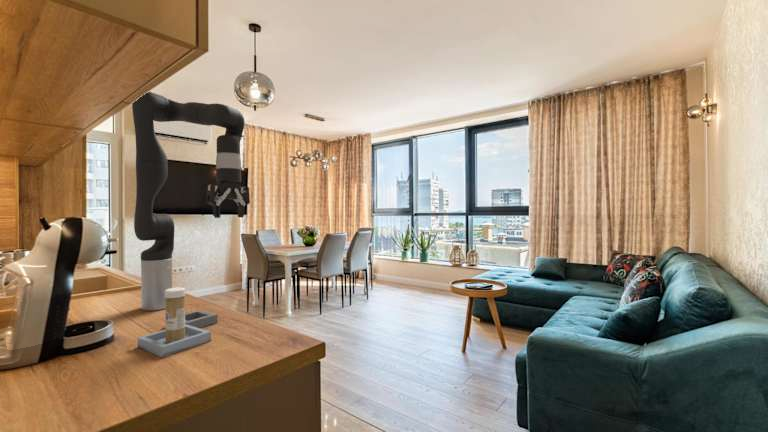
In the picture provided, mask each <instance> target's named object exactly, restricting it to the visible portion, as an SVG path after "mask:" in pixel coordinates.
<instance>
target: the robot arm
mask: <svg viewBox="0 0 768 432" xmlns="http://www.w3.org/2000/svg"><path fill="white" fill-rule="evenodd" d="M131 106H132V117H133V126H134V133H135V134H134V136H135V175H136V177H135V178H136V196H135V210H134V219H133V220H134V221H133V229H134V234H135V236H136V238H137V239H138V240H140V241H154V243H153V244H152V245H151V246H150V247H148V248H147V249H145V250H142V251H141V252H140V279H141V282H140V285H141V286H140V287H141V289H140V290H141V295H140V296H141V310H142V311H160V310H164V309H165V310H166V299H165V290H167V289H170V288H173V258H172V257H173V252H174V249H175V221H174V219H173V217H172V216H171V215H170V214H168V213H154V212H153V211H154V210H153V209H154V204H155V199H156V197H157V195H158V194H159V192H160V190H161V189H162V188H163V186H164V185H165V183H166V182H167V179H168V175H169V174H168V169H169V167H168V165H169V164H168V156H167V154H166V152H165V150H164V149H163V146H162V145H161V143H160V141H159V139H158V137H157V135H156V132H155V126H154V125H155V124H154V122H157V123H158V122H159V123H164V122H165V123H169V122H185V123H190V124H196V125H200V126H201V125H202V126H209V127H210V126H216V127H219V128H220V127H221V128H223V129H225V133H224V134H222V135H219V136H217V138H216V158H215V179H216V180H215V181H216V185H215V184H207V186H206V197H205V198H206V199H205V200H206V201H205V202H206V204H207V205H211V206H212V216H213V217H214V218H215V219H221V204H222V202H223V201H224V200H233V201H234V202H235V203H236V204H237V218H244V216H245V209H246V208H245V206H247V205H250V203H251V198H250V187H249V186H241V182H242V159H241V141H242V137H243V132H244V129H245V117H244V114H243V113H242V112H241V110H238V109H236V108H234V107H232V106H230V105H229V106H228V105H227V104H222V103H204V102H195V101H191V102H190V101H189V102H185V103H183V102H178V101H174V100H172V99H169V98H167V97H165V96H163V95H161V94H157V93H154V92H152V91H149V92H148V93H146V94H145V95H143V96H142V97H140V98H139V99H138V100H137V101H135V102H134V103H132V104H131ZM216 192H217V194H216Z"/></svg>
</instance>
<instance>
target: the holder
mask: <svg viewBox="0 0 768 432" xmlns="http://www.w3.org/2000/svg"><path fill="white" fill-rule="evenodd" d="M216 323H218V314H216V313H213V312H210V311H205V310H203V309H197V310H193V311H190V312H185V324H187V325H190V326H194V327H197V328H200V329H202V328H203V327H208V326H211V325H213V324H216Z"/></svg>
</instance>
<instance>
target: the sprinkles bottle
mask: <svg viewBox="0 0 768 432" xmlns="http://www.w3.org/2000/svg"><path fill="white" fill-rule="evenodd" d="M185 295H186V288H184V287H177V286H176V287H172V288H170V289H167V290H165V299H166V308H165V330H166V340H165V341H166V342H167V343H172V342H175V341H178V340H181V339H184V338H186V337H185V313H186V305H185V303H186V302H185V300H186V299H185Z"/></svg>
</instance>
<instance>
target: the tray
mask: <svg viewBox="0 0 768 432" xmlns="http://www.w3.org/2000/svg"><path fill="white" fill-rule="evenodd" d="M185 337H186V338H184V339H181V340H178V341H175V342H172V343H167V342H166V341H165V340H166V329H163V330H160V331H157V332H153V333H149V334H146V335H142V336H138V337H137V348H139V349H141V350H143V351H147V352H149V353H151V354H153V355H156V356H157V357H161V358H165V357H168V356H170V355H174V354H176V353H177V354H178V353H179V352H183V351H185V350H188V349H191V348H194V347H197V346H200V345H203V344H206V343H208V342H211V341H212V332H211V331H210V330H208V329H207V330H206V329H203V328H197V327H194V326H190V325H187V324H185Z"/></svg>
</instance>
